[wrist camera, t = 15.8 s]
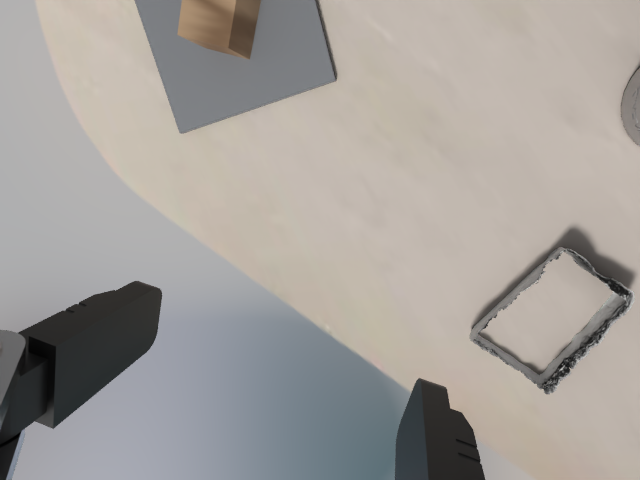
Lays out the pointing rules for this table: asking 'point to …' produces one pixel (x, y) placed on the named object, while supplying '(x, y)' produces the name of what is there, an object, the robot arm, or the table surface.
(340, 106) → the table surface
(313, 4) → the charcoal mat
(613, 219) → the table surface
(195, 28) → the cream and brown block
